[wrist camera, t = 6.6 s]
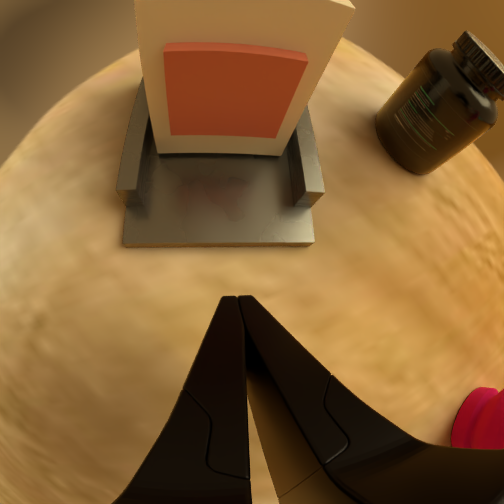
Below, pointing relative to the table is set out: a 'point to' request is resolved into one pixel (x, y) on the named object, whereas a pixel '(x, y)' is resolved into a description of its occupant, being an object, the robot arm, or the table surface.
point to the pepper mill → (480, 421)
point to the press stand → (217, 191)
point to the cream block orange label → (233, 69)
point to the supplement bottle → (442, 105)
